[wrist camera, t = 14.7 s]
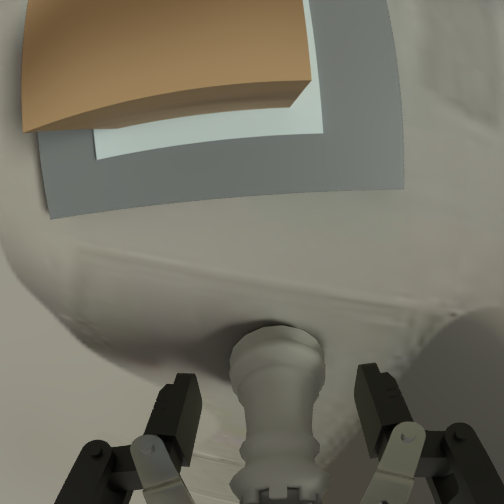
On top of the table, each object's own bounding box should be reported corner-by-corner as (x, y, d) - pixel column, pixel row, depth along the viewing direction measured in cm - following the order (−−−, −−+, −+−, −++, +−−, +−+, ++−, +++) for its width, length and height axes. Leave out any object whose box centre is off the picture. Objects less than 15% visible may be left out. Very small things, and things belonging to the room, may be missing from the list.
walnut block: (114, -12, 8) (43, -65, 3) (274, -40, 7) (277, -126, 3) (116, 129, 10) (23, 133, 5) (289, 107, 9) (311, 80, 5)
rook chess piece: (229, 386, 15) (209, 525, 8) (231, 315, 14) (203, 476, 6) (314, 391, 15) (332, 527, 8) (331, 321, 14) (375, 476, 6)
